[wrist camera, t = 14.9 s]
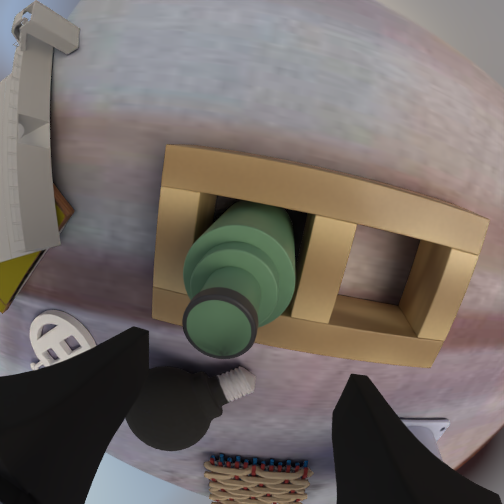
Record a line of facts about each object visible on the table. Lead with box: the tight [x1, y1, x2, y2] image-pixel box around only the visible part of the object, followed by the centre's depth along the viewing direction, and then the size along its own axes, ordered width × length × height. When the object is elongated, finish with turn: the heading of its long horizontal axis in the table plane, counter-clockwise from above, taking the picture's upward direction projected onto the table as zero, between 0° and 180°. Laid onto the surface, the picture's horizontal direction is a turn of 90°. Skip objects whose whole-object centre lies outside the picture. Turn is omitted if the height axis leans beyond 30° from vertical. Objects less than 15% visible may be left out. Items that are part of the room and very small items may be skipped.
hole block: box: [152, 144, 490, 368], centre depth 17 cm, size 9×17×4 cm, turn 80°
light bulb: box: [125, 366, 256, 451], centre depth 21 cm, size 6×6×10 cm
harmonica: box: [0, 183, 74, 314], centre depth 20 cm, size 15×3×2 cm, turn 128°
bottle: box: [182, 200, 295, 359], centre depth 14 cm, size 4×4×10 cm
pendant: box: [30, 310, 96, 370], centre depth 24 cm, size 7×11×1 cm, turn 121°
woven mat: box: [204, 454, 314, 504], centre depth 26 cm, size 10×11×2 cm
